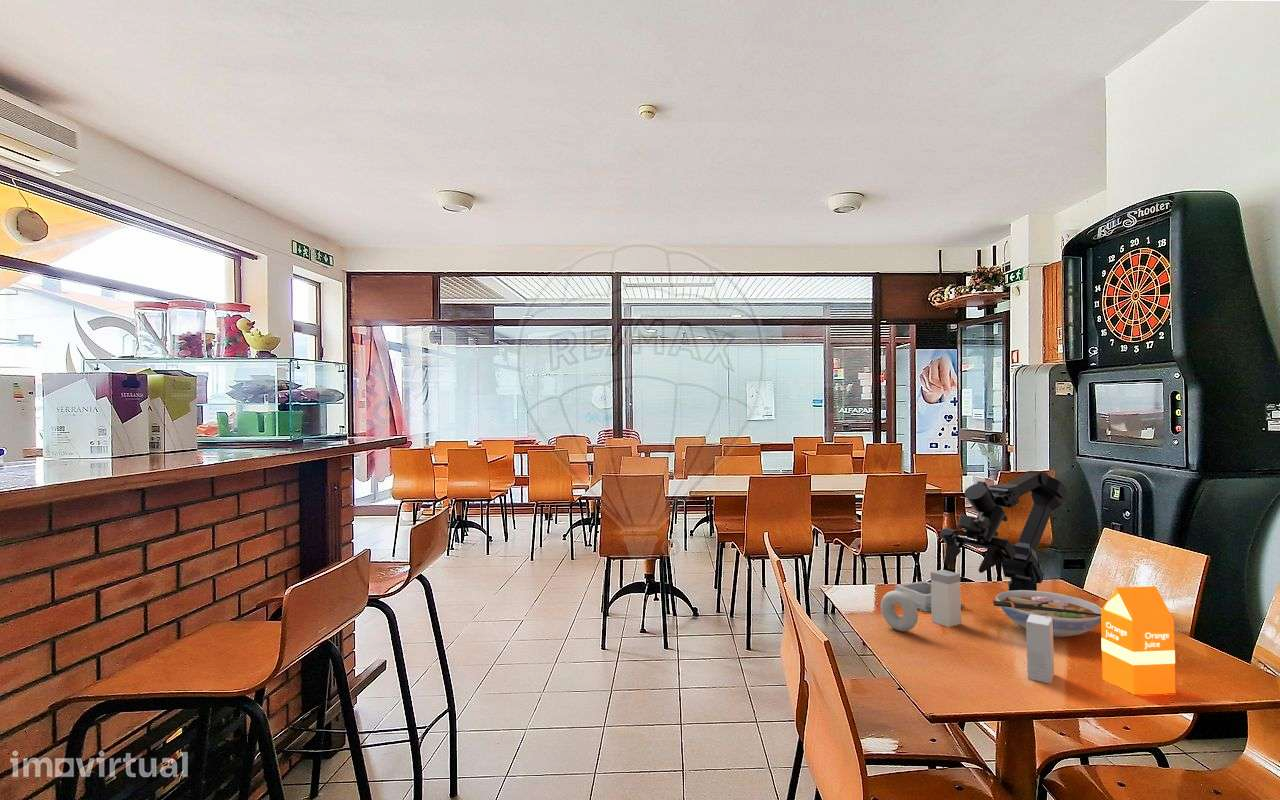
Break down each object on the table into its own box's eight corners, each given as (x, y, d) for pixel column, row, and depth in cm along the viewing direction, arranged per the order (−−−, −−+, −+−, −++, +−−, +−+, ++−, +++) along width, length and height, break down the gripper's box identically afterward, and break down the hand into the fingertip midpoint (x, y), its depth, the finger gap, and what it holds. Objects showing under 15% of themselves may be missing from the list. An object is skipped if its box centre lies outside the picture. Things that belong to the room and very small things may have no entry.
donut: (878, 625, 159) (877, 587, 159) (886, 623, 161) (885, 585, 161) (912, 638, 151) (912, 597, 151) (921, 635, 152) (920, 594, 153)
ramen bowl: (1097, 625, 158) (1097, 593, 158) (1124, 658, 138) (1123, 621, 138) (987, 612, 169) (986, 582, 169) (996, 641, 148) (995, 607, 148)
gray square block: (943, 618, 165) (942, 569, 165) (961, 623, 160) (960, 573, 160) (931, 621, 162) (930, 572, 162) (949, 627, 158) (948, 576, 158)
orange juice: (1101, 678, 127) (1099, 582, 128) (1141, 677, 128) (1139, 580, 128) (1134, 696, 120) (1132, 593, 120) (1176, 694, 120) (1174, 592, 120)
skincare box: (1030, 669, 132) (1029, 613, 132) (1054, 674, 130) (1053, 617, 130) (1026, 678, 128) (1025, 621, 128) (1051, 684, 125) (1049, 625, 125)
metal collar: (925, 592, 185) (925, 581, 185) (956, 603, 174) (956, 591, 174) (895, 597, 181) (895, 585, 181) (925, 608, 170) (925, 596, 170)
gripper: (943, 499, 176) (918, 542, 170) (1008, 508, 160) (983, 556, 154) (960, 524, 180) (937, 567, 174) (1026, 536, 163) (1002, 583, 158)
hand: (963, 568), depth 165 cm, fingers open, 9 cm apart
